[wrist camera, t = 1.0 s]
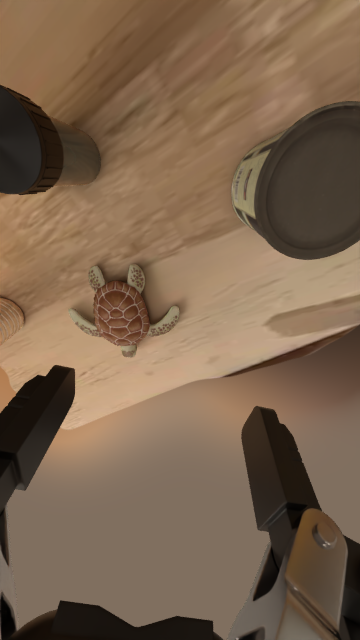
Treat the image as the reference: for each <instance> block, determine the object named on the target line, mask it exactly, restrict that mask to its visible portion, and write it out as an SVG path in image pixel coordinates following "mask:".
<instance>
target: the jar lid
mask: <svg viewBox="0 0 360 640" xmlns="http://www.w3.org/2000/svg"><path fill="white" fill-rule="evenodd" d="M63 164H64V154H63V147H62V143H61V140H60V137H59V134H58V131H57V130H56V128H55V126H54V124H53V123H52V121H51V119H50V118H49V117H48V116H47V114H46V113H45V112H44V111H43V110H42V109H41V107H40V106H38V105H36V104H35V103H34V102H32V101H31V100H30V99H29V98H27V97H25V96H23V95H21V94H19V93H17V92H15V91H13V90H11V89H9V88H6V87H4V86H2V85H0V192H1V193H5V194H19V195H25V194H37V192H46V190H48V189H50V188H51V187H54V185H55V184H56V183H57V181H58V180H59V178H60V176H61V173H62V170H63Z"/></svg>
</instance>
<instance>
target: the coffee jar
mask: <svg viewBox="0 0 360 640" xmlns="http://www.w3.org/2000/svg"><path fill="white" fill-rule="evenodd" d="M47 116H48V115H47ZM48 117H49V118H50V119H51V121H52V123H53V124H54V126H55V128H56V130H57V131H58V134H59V137H60V140H61V143H62V147H63V154H64V164H63V170H62V173H61V176H60V178H59V180H58V181H57V183H56V184H55V185H54V186H70V185H86V184H89V183H91V182H93V181H94V180H95V179H96V177H97V176H98V174H99V171H100V166H101V159H100V154H99V150H98V148H97V146H96V144H95V142H94V141H93V140H92V138H91V137H90V136H89V135H88V134H86V133H85V132H83V131H82V130H79V129H77V128H75V127H73V126H71V125H68V124H66V123H64V122H62V121H59V120H57V119H55V118H53V117H51V116H48Z"/></svg>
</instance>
